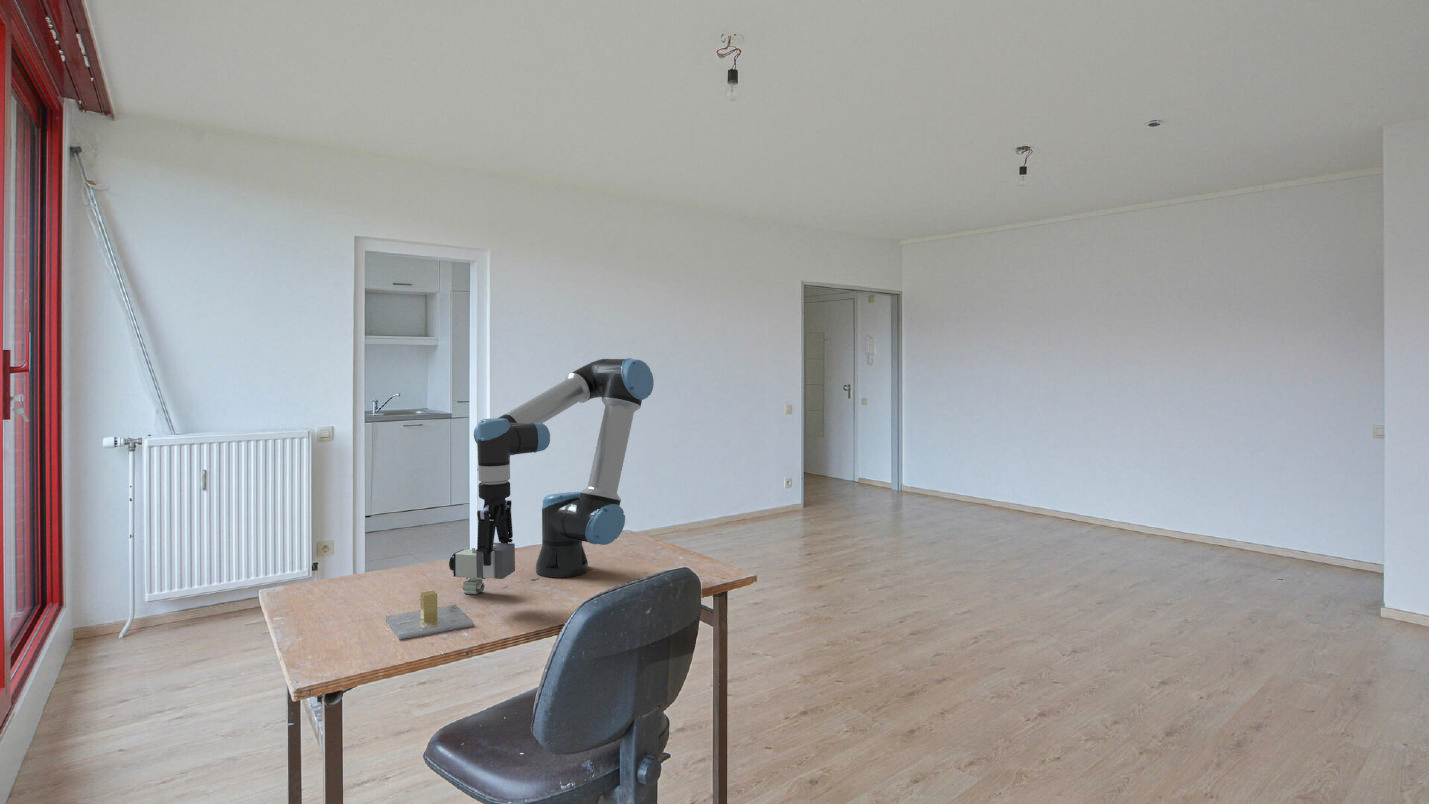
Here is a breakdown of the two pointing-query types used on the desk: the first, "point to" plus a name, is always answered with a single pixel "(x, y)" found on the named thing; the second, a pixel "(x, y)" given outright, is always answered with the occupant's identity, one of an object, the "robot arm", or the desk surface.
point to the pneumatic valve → (467, 570)
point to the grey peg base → (428, 619)
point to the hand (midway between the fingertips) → (496, 573)
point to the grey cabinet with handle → (499, 560)
